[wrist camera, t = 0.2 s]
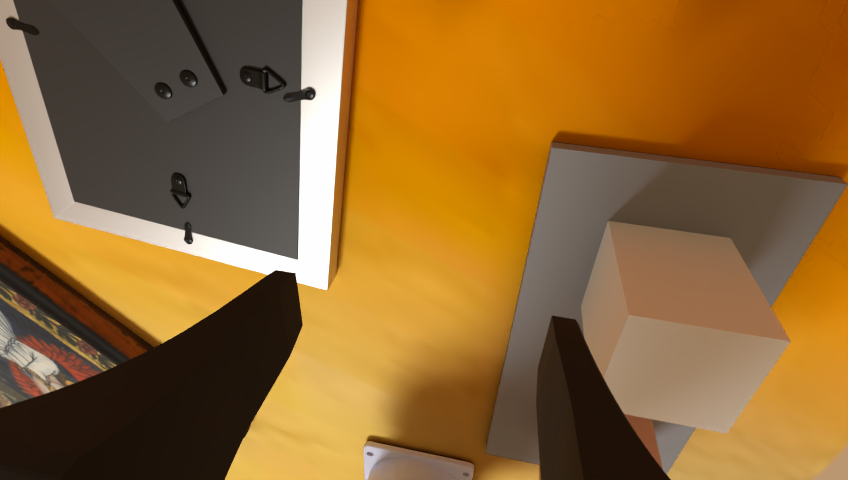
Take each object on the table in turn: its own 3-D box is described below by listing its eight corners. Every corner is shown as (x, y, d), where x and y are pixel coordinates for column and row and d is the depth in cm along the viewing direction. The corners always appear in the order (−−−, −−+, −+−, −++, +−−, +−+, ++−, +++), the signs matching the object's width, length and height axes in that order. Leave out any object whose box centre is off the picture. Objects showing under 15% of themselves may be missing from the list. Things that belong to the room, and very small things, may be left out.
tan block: (687, 323, 23) (726, 433, 18) (580, 305, 24) (591, 407, 19) (730, 237, 20) (790, 341, 15) (608, 220, 21) (628, 314, 16)
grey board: (655, 480, 31) (657, 489, 31) (486, 445, 33) (485, 453, 32) (839, 177, 19) (848, 184, 18) (551, 141, 20) (551, 147, 20)
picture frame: (-69, -324, 16) (83, 199, 28) (-169, -362, 14) (42, 225, 26) (384, -236, 15) (340, 267, 27) (356, -261, 13) (322, 300, 25)
